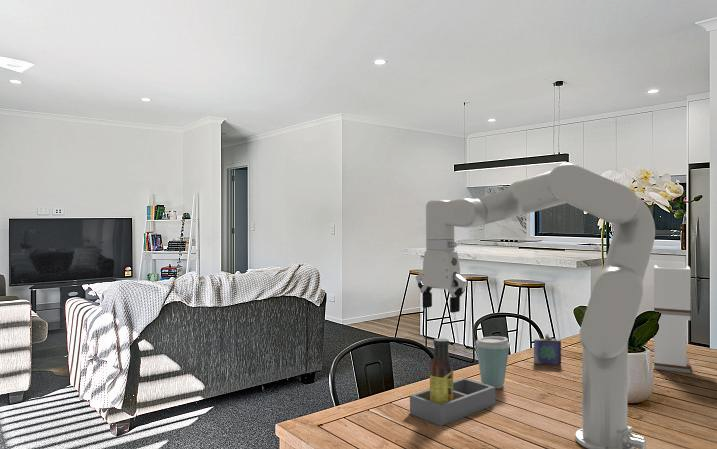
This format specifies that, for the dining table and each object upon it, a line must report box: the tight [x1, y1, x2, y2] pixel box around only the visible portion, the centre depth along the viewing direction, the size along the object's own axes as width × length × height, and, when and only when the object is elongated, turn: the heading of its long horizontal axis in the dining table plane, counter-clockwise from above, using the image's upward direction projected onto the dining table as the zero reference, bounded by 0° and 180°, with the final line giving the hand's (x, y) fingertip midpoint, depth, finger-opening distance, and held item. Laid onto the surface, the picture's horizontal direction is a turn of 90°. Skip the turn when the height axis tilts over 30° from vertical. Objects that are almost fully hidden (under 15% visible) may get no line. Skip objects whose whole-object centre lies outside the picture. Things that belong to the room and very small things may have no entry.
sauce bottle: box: [429, 337, 454, 405], centre depth 139 cm, size 6×6×20 cm
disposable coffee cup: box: [475, 335, 511, 389], centre depth 163 cm, size 11×11×15 cm
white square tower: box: [653, 264, 692, 374], centre depth 182 cm, size 11×11×35 cm
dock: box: [409, 377, 496, 427], centre depth 143 cm, size 11×23×5 cm, turn 130°
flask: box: [533, 333, 562, 367], centre depth 186 cm, size 9×3×11 cm, turn 76°
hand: (440, 309), depth 139 cm, fingers open, 9 cm apart
